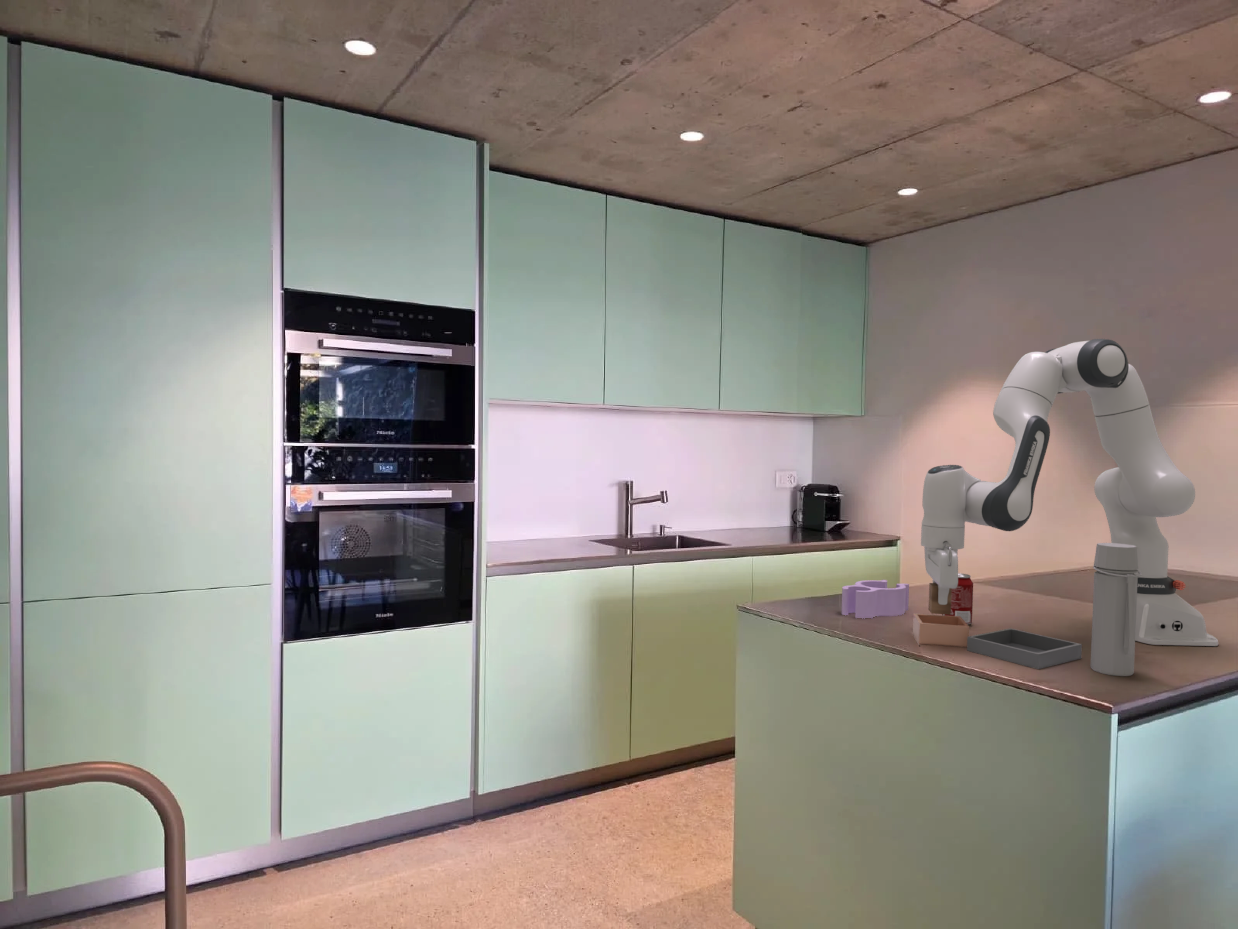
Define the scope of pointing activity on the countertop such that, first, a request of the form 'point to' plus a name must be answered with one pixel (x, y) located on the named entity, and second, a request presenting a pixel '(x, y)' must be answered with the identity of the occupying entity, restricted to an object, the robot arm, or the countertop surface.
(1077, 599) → the countertop surface
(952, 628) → the peach open box
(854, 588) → the clip
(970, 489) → the robot arm
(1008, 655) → the tray
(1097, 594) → the water bottle
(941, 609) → the block
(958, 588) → the soda can
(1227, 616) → the countertop surface
